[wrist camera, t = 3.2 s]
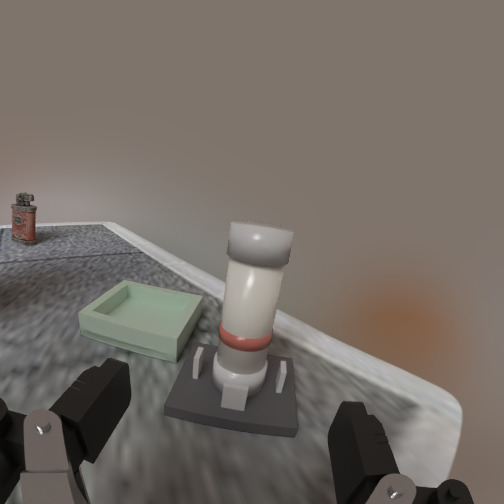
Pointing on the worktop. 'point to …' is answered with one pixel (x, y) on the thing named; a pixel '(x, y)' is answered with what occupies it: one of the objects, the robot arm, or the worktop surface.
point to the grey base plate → (234, 397)
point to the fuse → (250, 302)
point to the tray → (143, 319)
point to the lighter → (23, 220)
